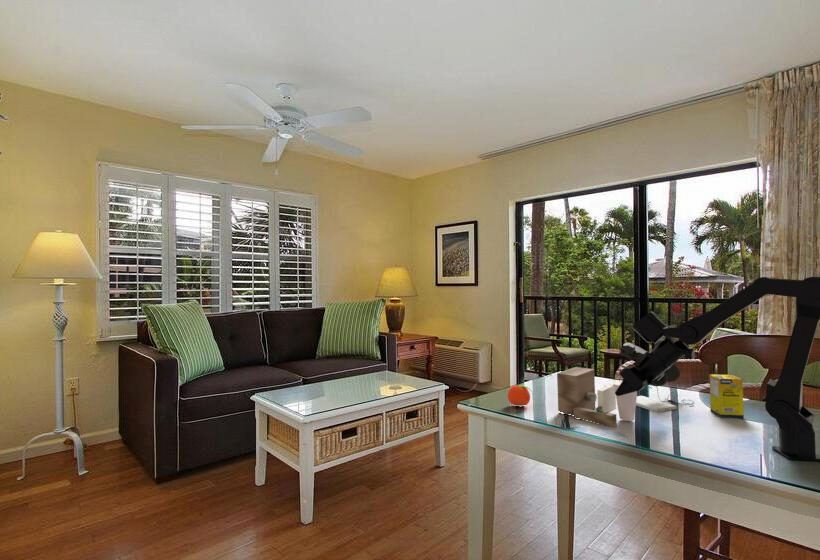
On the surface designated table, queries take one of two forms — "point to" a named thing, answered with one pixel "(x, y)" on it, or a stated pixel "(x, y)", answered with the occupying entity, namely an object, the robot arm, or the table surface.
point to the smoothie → (626, 404)
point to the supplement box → (726, 396)
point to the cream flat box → (606, 399)
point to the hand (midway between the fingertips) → (620, 392)
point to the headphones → (668, 376)
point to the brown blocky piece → (581, 396)
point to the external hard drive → (653, 404)
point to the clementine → (519, 395)
